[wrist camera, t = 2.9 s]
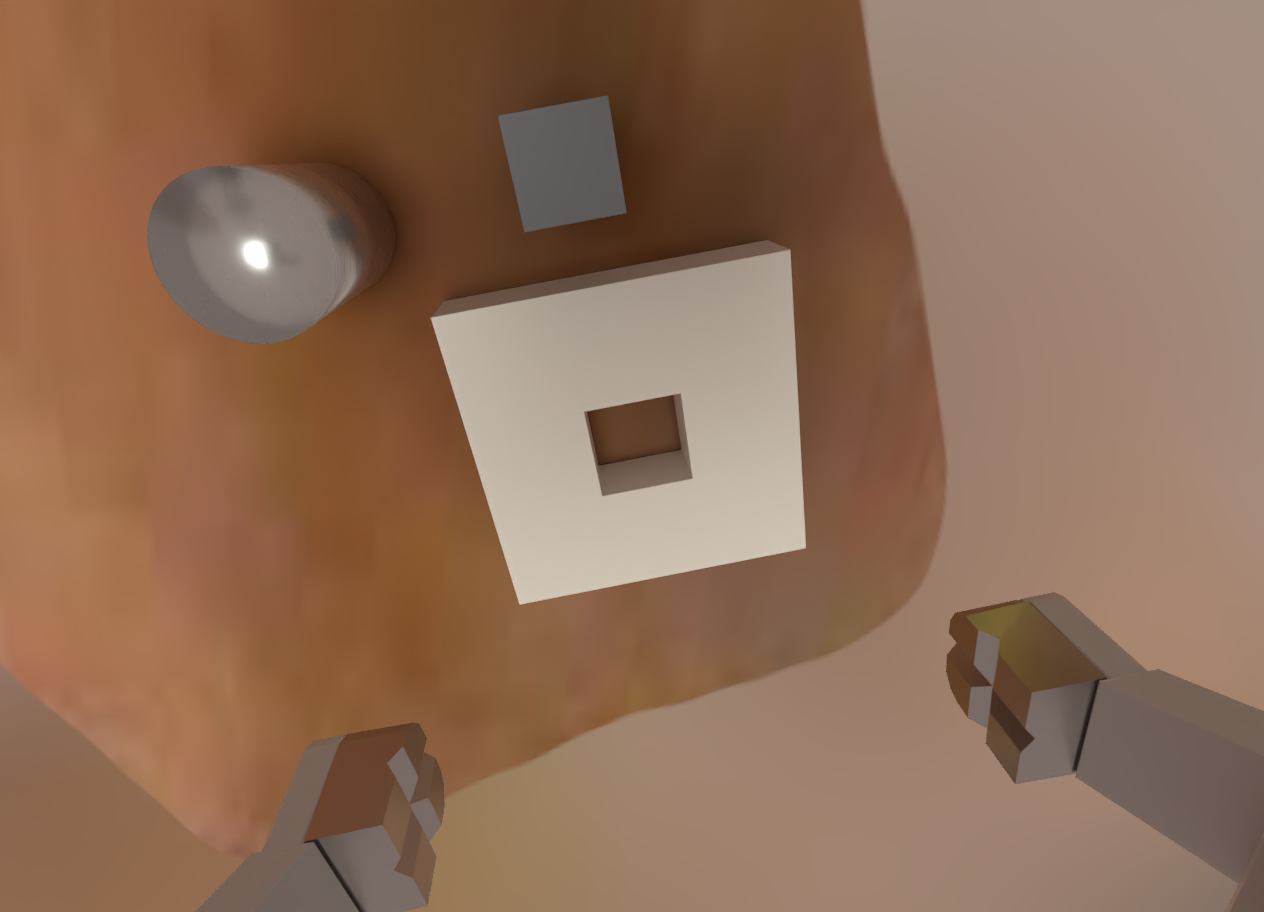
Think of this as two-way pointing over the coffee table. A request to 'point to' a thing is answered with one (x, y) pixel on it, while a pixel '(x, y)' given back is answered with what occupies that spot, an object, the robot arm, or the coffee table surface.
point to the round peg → (268, 245)
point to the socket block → (625, 373)
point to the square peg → (564, 163)
